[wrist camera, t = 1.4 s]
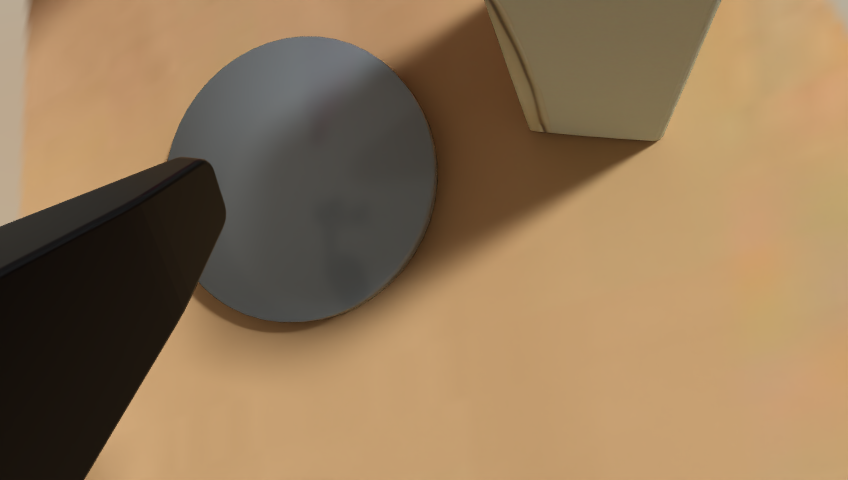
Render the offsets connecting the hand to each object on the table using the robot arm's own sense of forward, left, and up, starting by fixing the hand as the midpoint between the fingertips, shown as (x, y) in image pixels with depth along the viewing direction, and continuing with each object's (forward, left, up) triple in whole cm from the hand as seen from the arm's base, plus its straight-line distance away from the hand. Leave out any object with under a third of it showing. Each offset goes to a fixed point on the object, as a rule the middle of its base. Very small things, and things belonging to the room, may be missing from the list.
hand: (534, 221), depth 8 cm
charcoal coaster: (-1, +10, -13) cm, 17 cm away
